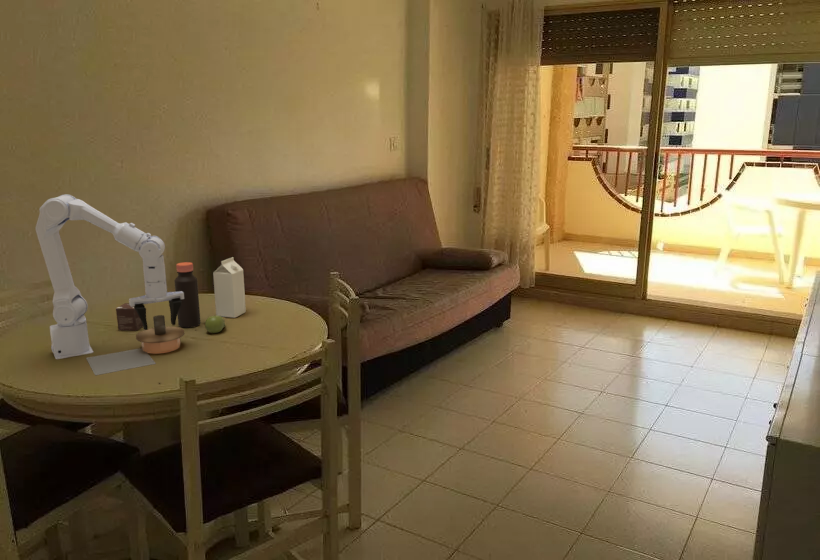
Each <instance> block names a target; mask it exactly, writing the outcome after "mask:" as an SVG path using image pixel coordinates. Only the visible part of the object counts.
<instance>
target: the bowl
mask: <svg viewBox="0 0 820 560" xmlns="http://www.w3.org/2000/svg"><path fill="white" fill-rule="evenodd" d="M180 347H181V337H180V338H178V339H176V340H172V341H168V342H161V343H144V342H141V348H143V351H145V352H147V353H148V354H153V355H155V354H164V353H165V354H166V353H170V352H173V351H177V350H178V349H180Z"/></svg>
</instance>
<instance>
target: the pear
mask: <svg viewBox="0 0 820 560" xmlns="http://www.w3.org/2000/svg"><path fill="white" fill-rule="evenodd" d="M225 322H226V321H225V319H224V318H223V317H222V316H216V315H211V316H209V317H208V318H207V319H206V320H205V322H204V323H205V329H206V331H207V332H208V333H210V334H218V333H220V332H221V331H222V330H223V328H225V327H226V323H225Z"/></svg>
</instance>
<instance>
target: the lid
mask: <svg viewBox="0 0 820 560" xmlns="http://www.w3.org/2000/svg"><path fill="white" fill-rule="evenodd" d="M165 317H166V316H165V315H162V314H158V315H154V316H153V317H152V318H153V319H152V321H153V327H151V328H148V330H145V329H144V330H141V331H139V332H138V333H136V335H135V339H136V340H137V341H138V342H141V343H142V342H144V343H161V342H168V341H172V340H176V339H178V338H180V339H181V338H182V337H184V336H185V330H184V328H182V327H180V326H170V325H169V326H167V325H166V320H165V319H166V318H165Z"/></svg>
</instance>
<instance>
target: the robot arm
mask: <svg viewBox="0 0 820 560" xmlns="http://www.w3.org/2000/svg"><path fill="white" fill-rule="evenodd" d="M68 221H85V222H87V223H90V224H92V225H94V226H95V227H98V228H100V229H102V230H104V231H106V232H108V233H110V234H112V236H113V238H114V241H116V242H117V243H120V244H122V245H124V246H125V247H126V248H129V249H131V250H133V251H134V252H138V254H139V256H140V257H141V259H142V269H143V270H142V271H143V280H144V281H143V282H144V292H145V295H140V296H136V297H131V298H128V303H129V305H130V306H131V307H134V308H135V310H136V311H137V313H138V315H139V317H140V319H141V321H142V324H143V327H142V329H144V330H148V329H149V328H148V321H147V308H146V307H145V306H146V305H148V304H155V303H161V302H168V305H169V311H170V323H171V326H176V325H177V324H176V323H177V318H178V316H177V314H178V311H179V308H180V306H181V303H182V302H181V300H180V299H184V293H183V292H182V291H179V292H175V291H169V292H168V286H167V285H168V284H167V274H166V265H165V258H164V254H163V253H164V252H165V249H166V246H165V245H166V244H165V241H163V239H161V237H159V236H157V235H152V234H151V233H150V232H147V233H146V232H144V231H143V230H141V229H140V228H137V227H136V224H135V223H133V222H130V223H128V222H127V221H125V222H120V223H119V222H118V221H116V220H114V219H112V218H111V217H109V216H108V215H106V214H105V213H103V212H101V211H99V210H97V209H96V208H94V207H93V206H92V205H90V204H89V203H86V202H85V201H84V200H82V199H79V198H76V197H75V196H73V195H72V194H66V193H65V194H61V195H59V196H57V197H51V198H48V199H47V200H46V201H45V202H44V203H43V204H42V205H41V206H40V207H39V215H38V218H37V221H36V224H35V228H34V229H35V233H36V236H37V241H38V243H39V245H40V249H41V253H42V255H43V259H44V263H45V266H46V270H47V272H48V277H49V279H50V281H51V286H52V288H53V289H52V290H53V292H54V293H53V297H52V305H53V310H52V317H53V319H54V321H55V322H56V324H52V325H49V334H50V341H51V352H52V353H53V356H54V358H55V360H60V359H67V358H71V357H76V356H77V357H78V356H83V355H89V354H93V353H94V350H93V348H92V347H91V345H90V339H89V333H88V324H87V323H88V321H87V318H86V316H85V313H87V311H88V301H87V300H86V299H85V298H84V297H83V296H82V293H81V291H80V289H79V288H78V287H77V286H76V285H75V282H74V279H73V275H72V272H71V271H72V270H71V268H70V264H69V261H68V259H67V258H68V257H67V255H66V252H65V248H64V245H63V241H62V237H61V235H60V230H61V229H62V228H63V227H64V225H65V224H66V222H68Z"/></svg>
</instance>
